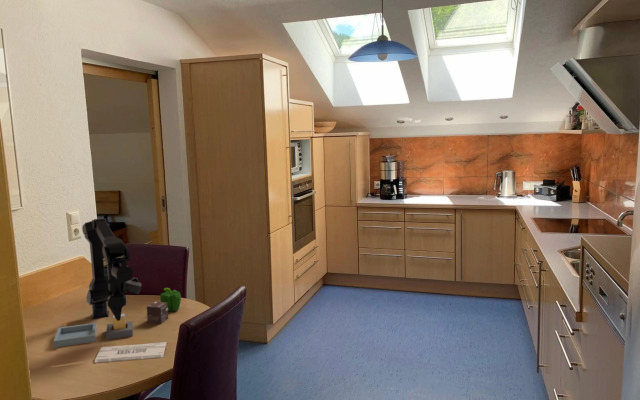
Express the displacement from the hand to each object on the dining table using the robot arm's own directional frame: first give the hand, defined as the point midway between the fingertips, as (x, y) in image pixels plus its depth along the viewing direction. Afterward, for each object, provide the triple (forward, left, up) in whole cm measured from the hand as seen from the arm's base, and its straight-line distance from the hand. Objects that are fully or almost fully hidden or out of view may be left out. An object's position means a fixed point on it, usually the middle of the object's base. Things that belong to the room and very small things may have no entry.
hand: (118, 316), depth 186 cm
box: (-8, +14, -8) cm, 18 cm away
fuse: (0, 0, -7) cm, 7 cm away
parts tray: (-2, -15, -7) cm, 17 cm away
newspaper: (+18, +4, -8) cm, 20 cm away
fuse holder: (0, 0, -7) cm, 7 cm away
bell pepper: (-20, +20, -7) cm, 29 cm away
